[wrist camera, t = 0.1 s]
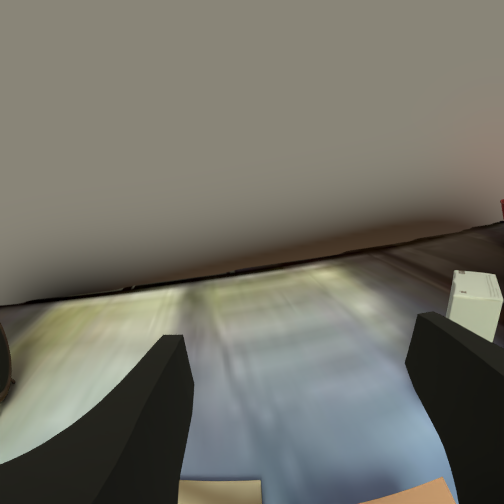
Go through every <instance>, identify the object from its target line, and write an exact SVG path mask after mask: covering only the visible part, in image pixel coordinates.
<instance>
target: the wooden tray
mask: <svg viewBox="0 0 504 504" xmlns="http://www.w3.org/2000/svg"><path fill="white" fill-rule="evenodd" d="M178 504H262V494H261V480H252V481H189V480H180V481H179V493H178Z"/></svg>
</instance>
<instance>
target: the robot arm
mask: <svg viewBox="0 0 504 504" xmlns="http://www.w3.org/2000/svg"><path fill="white" fill-rule="evenodd" d="M405 365H406V368H407V371H408V373H409V376H410V379H411V381H412V384H413V387H414V389H415V391H416V393H417V395H418V397H419V399H420V400H421V402H422V404H423V406H424V408H425V410H426V412H427V414H428V416H429V418H430V419H431V421H432V423H433V425H434V427H435V429H436V431H437V433H438V435H439V437H440V439H441V442H442V444H443V446H444V449H445V452H446V455H447V458H448V461H449V464H450V467H451V471H452V475H453V478H454V482H455V487H456V491H457V496H458V502H459V504H504V349H503V348H501V347H499V346H497V345H496V344H494V343H492V342H490V341H488V340H486V339H484V338H483V337H481V336H479V335H477V334H475V333H474V332H472V331H470V330H468V329H467V328H465V327H463V326H461V325H459V324H458V323H456V322H454V321H452V320H450V319H448V318H446V317H444V316H442V315H440V314H438V313H435V312H427V313H421V314H418V315H417V319H416V324H415V328H414V331H413V335H412V339H411V343H410V346H409V350H408V353H407V357H406V360H405ZM193 396H194V381H193V377H192V373H191V368H190V364H189V360H188V355H187V351H186V346H185V342H184V337H183V335H163V336H162V337H161V338H160V339H159V340H158V341H157V342H156V343H155V344H154V345H153V347H152V348H151V349H150V350H149V351H148V352H147V353H146V354H145V356H144V357H143V358H142V359H141V360H140V361H139V362H138V363H137V365H136V366H135V367H134V368H133V369H132V370H131V371H130V372H129V373H128V374H127V375H126V376H125V378H124V379H123V380H122V381H121V382H120V383H119V384H118V385H117V386H116V387H115V388H114V389H113V390H112V391H111V392H110V393H109V394H108V395H106V396H105V397H104V398H103V399H102V400H101V401H100V402H99V403H98V404H97V405H96V406H95V407H93V408H92V409H91V410H90V411H89V412H87V413H86V414H85V415H84V416H82V417H81V418H80V419H79V420H77V421H76V422H75V423H73V424H72V425H71V426H69V427H68V428H66V429H65V430H63V431H62V432H60V433H59V434H57V435H56V436H54V437H53V438H51V439H50V440H48V441H46V442H45V443H43V444H42V445H40V446H38V447H36V448H34V449H32V450H31V451H29V452H27V453H25V454H23V455H21V456H19V457H17V458H14V459H12V460H10V461H8V462H5V463H3V464H0V504H178V493H179V481H180V474H181V468H182V463H183V458H184V453H185V448H186V443H187V438H188V432H189V427H190V422H191V417H192V410H193Z"/></svg>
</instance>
